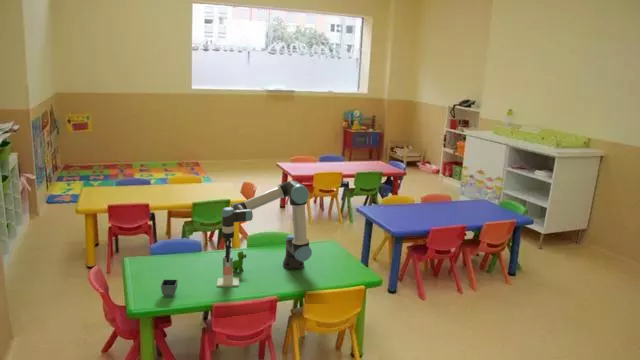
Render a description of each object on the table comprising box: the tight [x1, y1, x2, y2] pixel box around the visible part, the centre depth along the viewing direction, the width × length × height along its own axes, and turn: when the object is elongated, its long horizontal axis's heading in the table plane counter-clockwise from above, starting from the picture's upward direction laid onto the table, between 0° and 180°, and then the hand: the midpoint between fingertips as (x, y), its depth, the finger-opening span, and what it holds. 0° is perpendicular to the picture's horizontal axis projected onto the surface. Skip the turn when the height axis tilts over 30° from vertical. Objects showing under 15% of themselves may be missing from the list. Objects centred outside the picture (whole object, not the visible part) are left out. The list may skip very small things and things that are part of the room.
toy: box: [233, 250, 248, 274], centre depth 369 cm, size 6×14×15 cm, turn 78°
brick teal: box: [222, 253, 234, 268], centre depth 348 cm, size 6×6×6 cm
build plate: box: [216, 272, 240, 288], centre depth 352 cm, size 14×11×7 cm
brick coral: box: [222, 265, 234, 276], centre depth 350 cm, size 6×6×6 cm
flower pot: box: [160, 278, 179, 298], centre depth 331 cm, size 9×9×9 cm
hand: (228, 262), depth 349 cm, fingers open, 13 cm apart
